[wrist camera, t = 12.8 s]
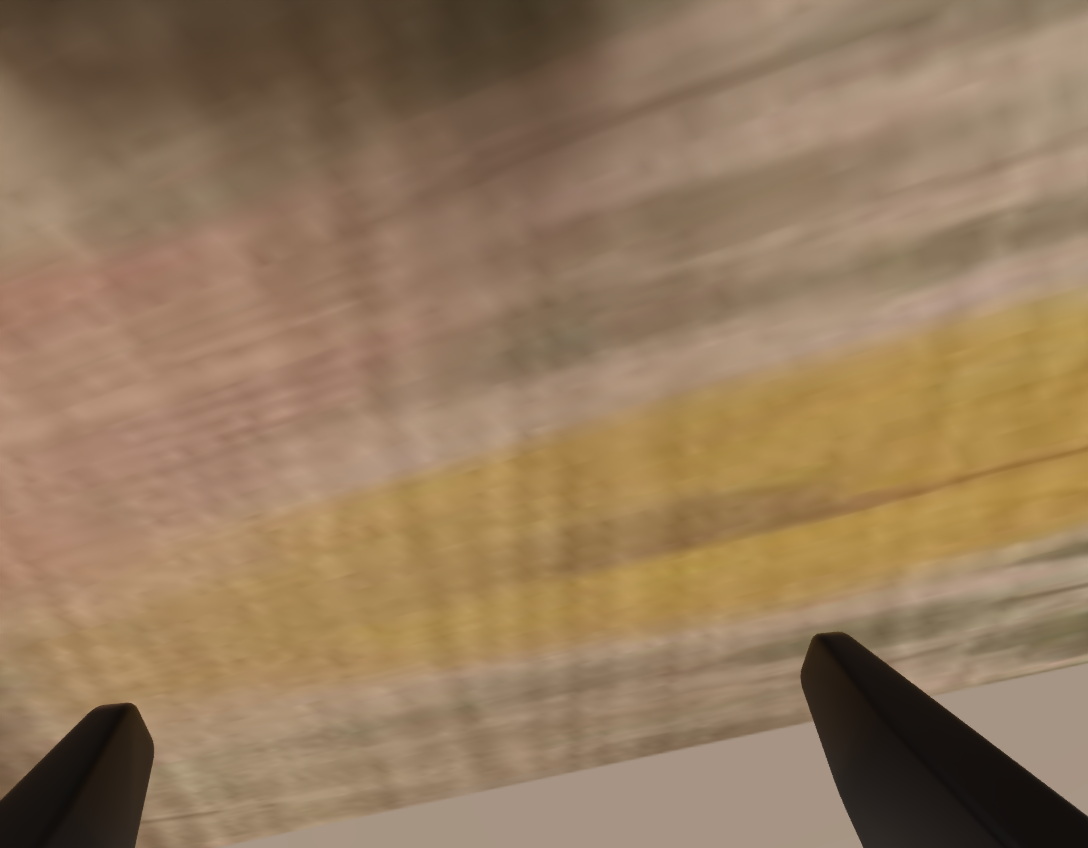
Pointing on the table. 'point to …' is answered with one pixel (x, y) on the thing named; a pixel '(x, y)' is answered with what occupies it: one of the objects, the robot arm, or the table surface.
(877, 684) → the robot arm
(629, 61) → the table surface
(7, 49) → the table surface
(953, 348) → the table surface
